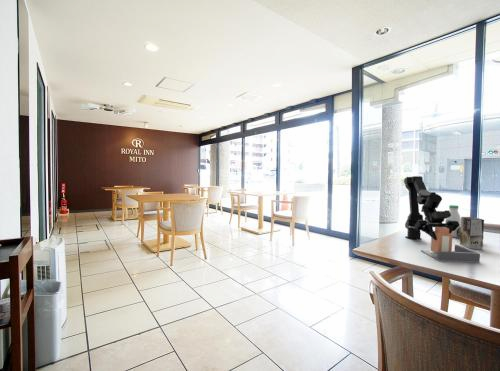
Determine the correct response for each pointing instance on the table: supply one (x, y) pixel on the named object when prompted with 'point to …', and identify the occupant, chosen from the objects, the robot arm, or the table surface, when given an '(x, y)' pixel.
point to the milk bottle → (454, 218)
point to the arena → (455, 255)
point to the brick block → (442, 240)
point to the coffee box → (472, 232)
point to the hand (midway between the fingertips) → (443, 240)
